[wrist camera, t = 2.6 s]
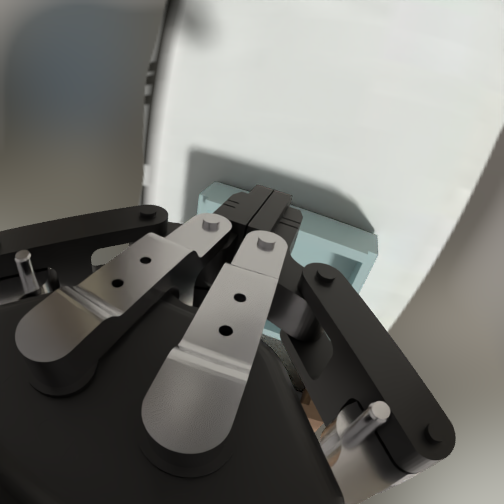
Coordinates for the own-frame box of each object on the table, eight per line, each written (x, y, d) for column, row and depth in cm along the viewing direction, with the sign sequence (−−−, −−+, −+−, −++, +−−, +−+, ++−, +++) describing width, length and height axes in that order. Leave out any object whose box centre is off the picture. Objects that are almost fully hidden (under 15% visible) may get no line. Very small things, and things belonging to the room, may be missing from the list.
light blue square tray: (215, 181, 26) (196, 196, 23) (377, 235, 24) (378, 258, 21) (201, 287, 33) (186, 307, 30) (328, 333, 31) (323, 359, 28)
